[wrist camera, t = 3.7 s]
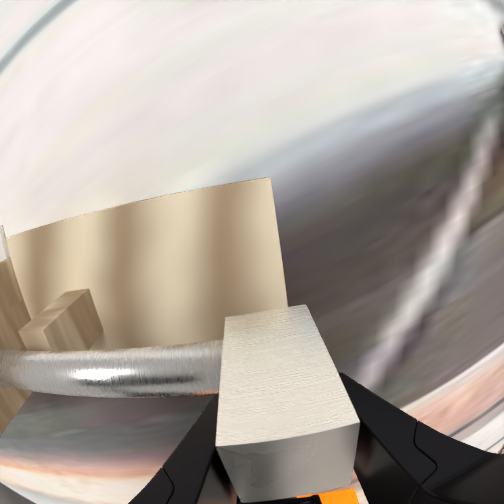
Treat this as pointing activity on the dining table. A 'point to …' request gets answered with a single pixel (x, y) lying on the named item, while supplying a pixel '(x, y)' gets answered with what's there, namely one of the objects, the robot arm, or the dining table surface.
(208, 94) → the dining table surface
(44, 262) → the wooden latch stand
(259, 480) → the shaft
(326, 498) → the orange juice
